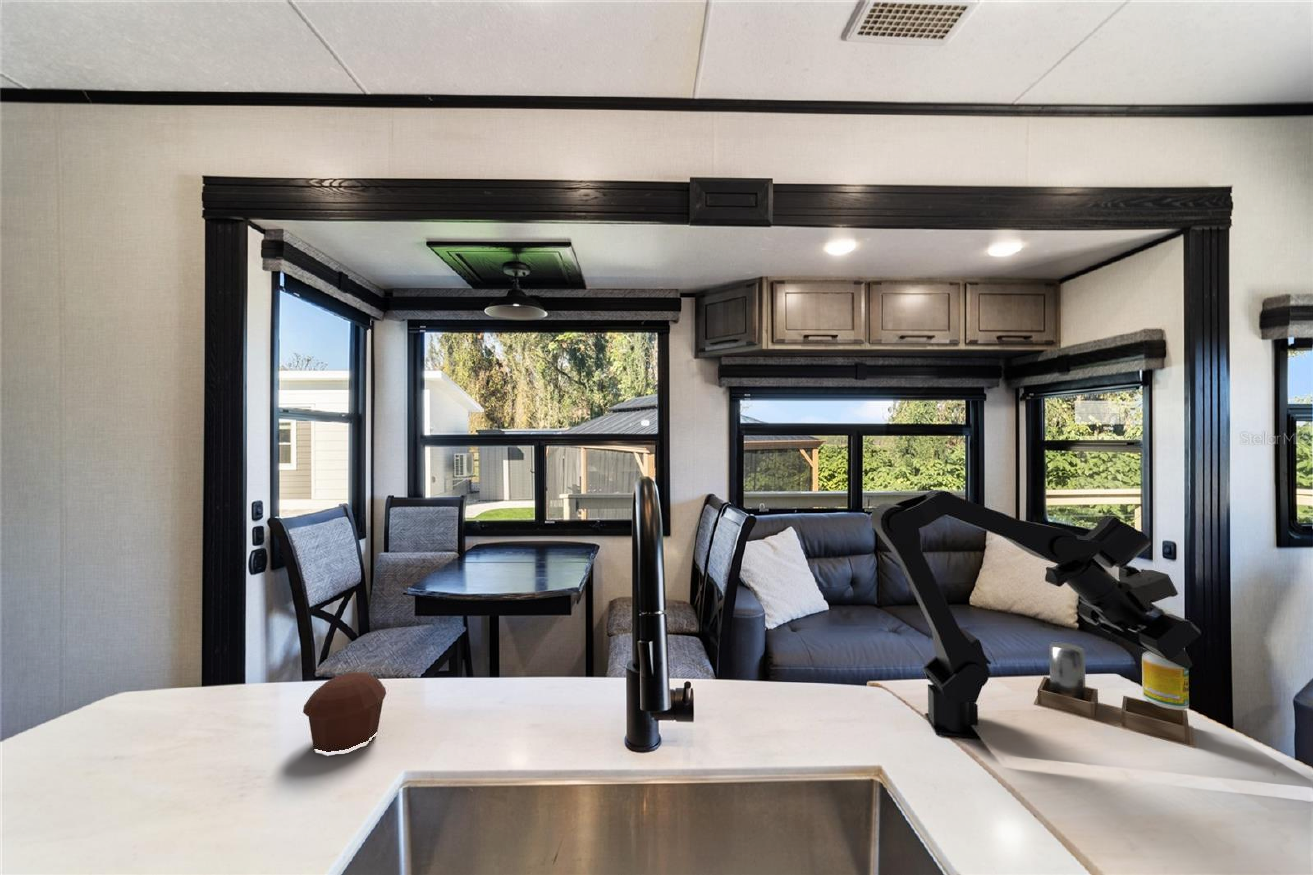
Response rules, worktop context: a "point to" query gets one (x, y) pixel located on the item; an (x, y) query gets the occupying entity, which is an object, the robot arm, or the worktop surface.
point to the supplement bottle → (1164, 682)
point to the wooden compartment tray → (1122, 714)
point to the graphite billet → (1067, 670)
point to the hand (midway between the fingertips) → (1174, 659)
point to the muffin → (345, 711)
